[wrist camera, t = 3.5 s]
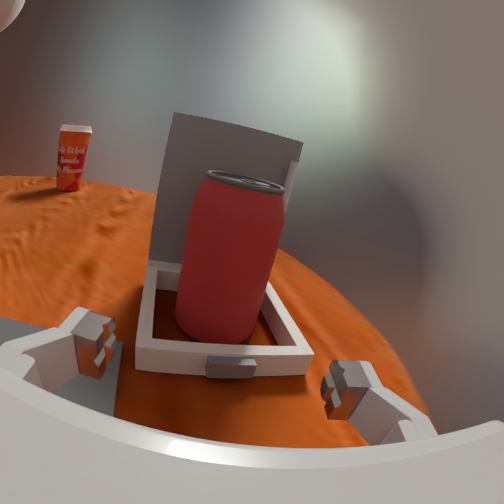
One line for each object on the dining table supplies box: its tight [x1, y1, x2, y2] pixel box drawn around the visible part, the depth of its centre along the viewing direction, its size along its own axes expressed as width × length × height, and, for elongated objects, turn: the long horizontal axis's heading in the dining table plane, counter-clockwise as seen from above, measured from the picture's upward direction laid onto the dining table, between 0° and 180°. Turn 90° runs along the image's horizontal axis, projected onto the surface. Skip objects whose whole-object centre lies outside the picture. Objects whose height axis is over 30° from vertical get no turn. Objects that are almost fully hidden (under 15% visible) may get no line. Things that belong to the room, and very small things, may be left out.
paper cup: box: [57, 125, 93, 191], centre depth 51 cm, size 8×8×14 cm
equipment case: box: [135, 112, 315, 378], centre depth 21 cm, size 12×14×16 cm
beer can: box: [175, 170, 285, 345], centre depth 22 cm, size 7×7×12 cm
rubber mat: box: [0, 317, 123, 417], centre depth 11 cm, size 12×12×1 cm
